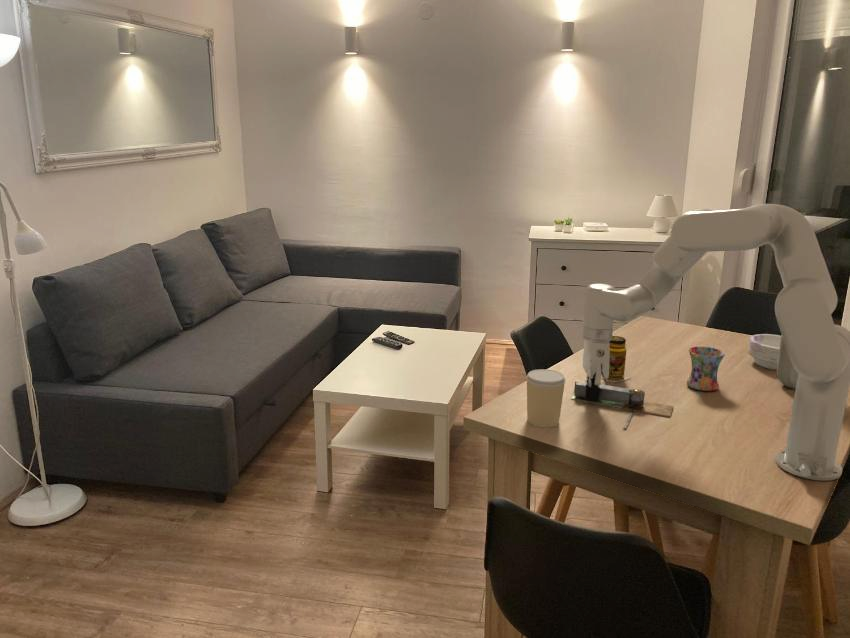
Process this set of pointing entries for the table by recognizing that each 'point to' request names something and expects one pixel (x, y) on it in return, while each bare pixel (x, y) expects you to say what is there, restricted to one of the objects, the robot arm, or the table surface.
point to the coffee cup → (544, 397)
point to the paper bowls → (765, 350)
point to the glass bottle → (786, 367)
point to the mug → (704, 368)
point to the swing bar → (614, 394)
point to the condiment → (617, 359)
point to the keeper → (603, 402)
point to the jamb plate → (648, 410)
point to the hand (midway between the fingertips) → (591, 399)
